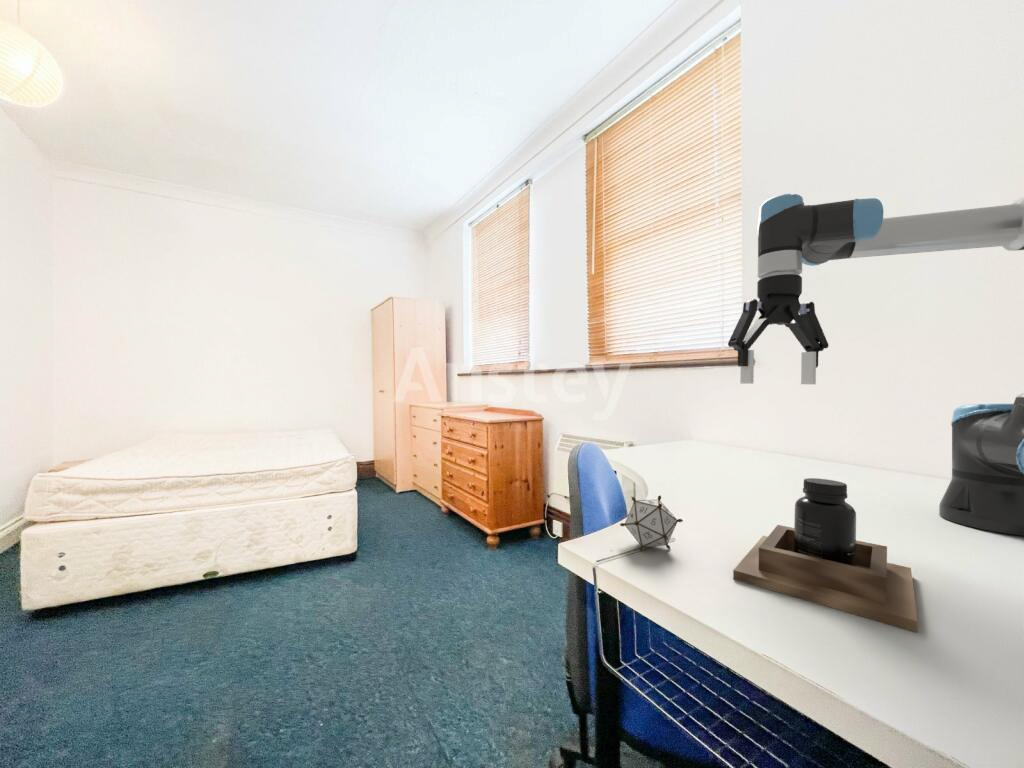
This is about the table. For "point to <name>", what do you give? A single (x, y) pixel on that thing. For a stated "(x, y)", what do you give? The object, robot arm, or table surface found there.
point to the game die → (650, 523)
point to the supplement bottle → (825, 522)
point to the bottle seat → (833, 579)
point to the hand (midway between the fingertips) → (777, 384)
